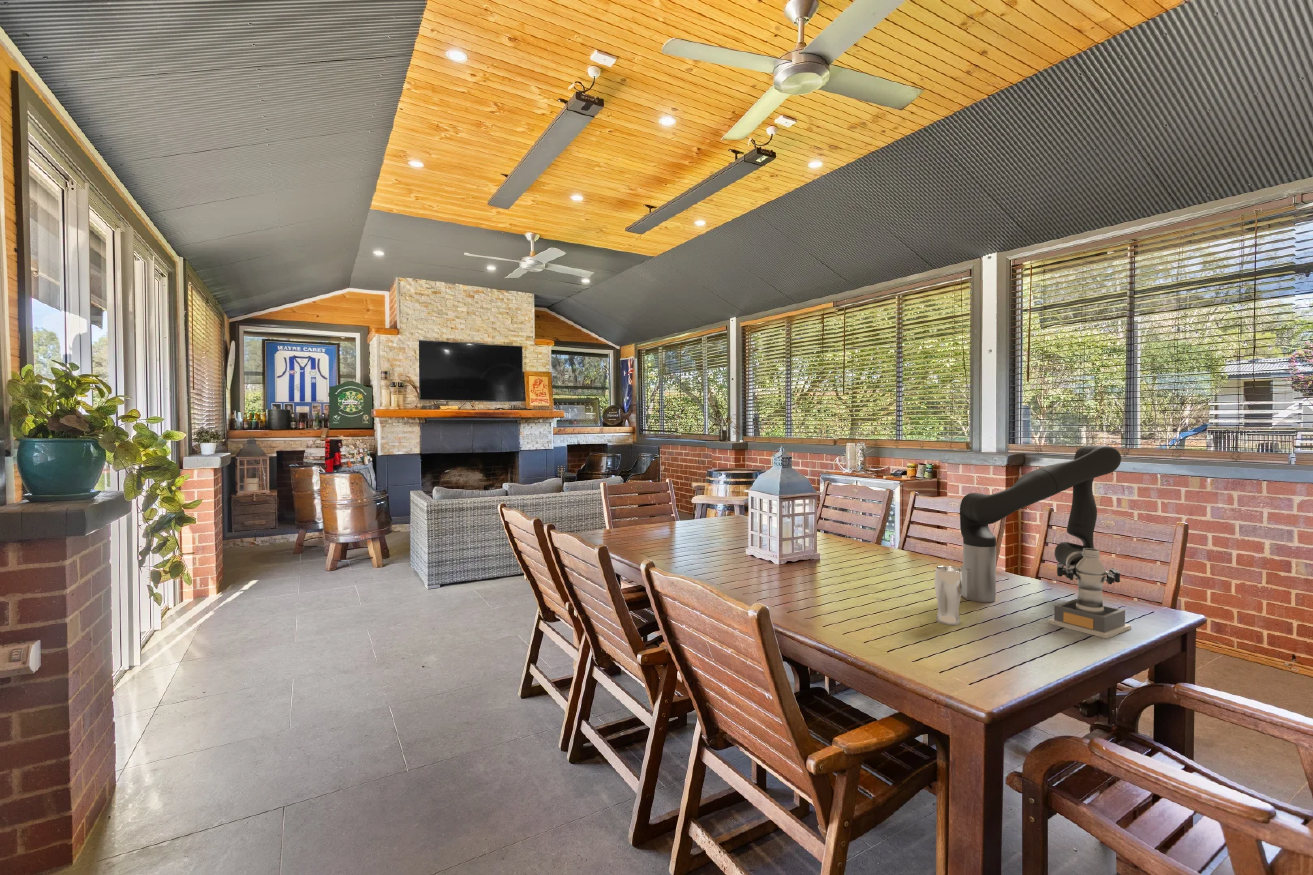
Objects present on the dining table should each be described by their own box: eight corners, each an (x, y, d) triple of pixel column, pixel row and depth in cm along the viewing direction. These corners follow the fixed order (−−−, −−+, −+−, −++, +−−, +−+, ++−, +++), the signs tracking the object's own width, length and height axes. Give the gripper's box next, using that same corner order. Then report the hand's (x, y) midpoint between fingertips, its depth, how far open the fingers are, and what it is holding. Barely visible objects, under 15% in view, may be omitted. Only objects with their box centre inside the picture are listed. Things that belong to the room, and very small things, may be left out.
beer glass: (961, 619, 169) (962, 566, 169) (962, 627, 163) (963, 572, 163) (934, 616, 172) (934, 564, 172) (934, 623, 166) (934, 569, 165)
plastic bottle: (1109, 626, 160) (1111, 552, 159) (1081, 625, 162) (1083, 551, 161) (1097, 618, 167) (1099, 547, 166) (1069, 617, 168) (1071, 546, 167)
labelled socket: (1107, 638, 154) (1107, 619, 154) (1048, 623, 166) (1048, 605, 166) (1130, 628, 162) (1131, 610, 162) (1073, 614, 174) (1073, 597, 173)
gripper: (1053, 550, 180) (1059, 561, 165) (1112, 555, 173) (1124, 567, 158) (1053, 575, 180) (1059, 588, 165) (1112, 581, 173) (1123, 595, 159)
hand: (1090, 578), depth 162 cm, fingers open, 8 cm apart
